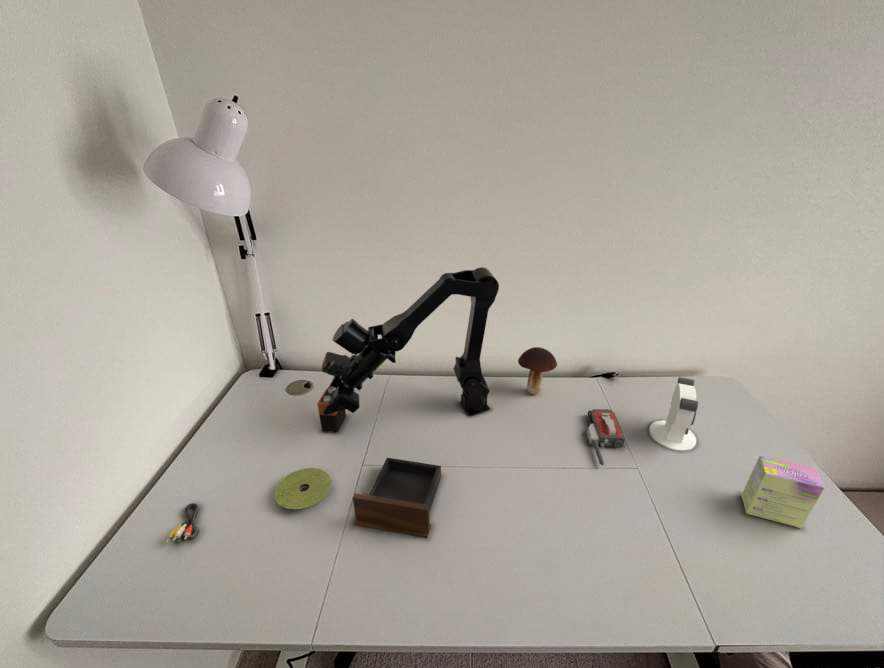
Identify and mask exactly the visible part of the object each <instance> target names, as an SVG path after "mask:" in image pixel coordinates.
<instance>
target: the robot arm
mask: <svg viewBox="0 0 884 668" xmlns="http://www.w3.org/2000/svg"><path fill="white" fill-rule="evenodd" d="M499 289H500V284H499V282H498V280H497V278H496V277H495V276H494V275H493V273H492V272H491V271H490V270H489V269H488V268H487V267H484V266H483V267H477V268H474V269H463V270H460V271H457V272H445V273H443V274H441V276H439V278H438V280H437V281H435V283H433V284H432V285H431V286H430V287H429V288H428V289H427V290H426V291H425V292H424V293H423V294H422V295H421V296H420V297H418V298H417V300H415V301H414V302H413V303H412V304H411V305H410V306H409V307H408V308H407V309H406V310H404V311H403V312H402V313H399V314H396V315H394V316H392V317H391V318H389V319H388V320H386V321H385V322H384V323H381V324H378V325H372V326H368V327H367V329H366V328H365V327H363V326H362V325H361V324H359V322H358V321H356V320H355V319H354V318H351V319H350V320H349V321H346V322H344V323H341V325H340V326H339V327H338V328H337V329H336V331H335V332H334V334H333V337H332V342H334V343H335V344H336V345H338V346H340V348H343V349H344V350H346V351H347V352H349V353H350V354H351V356H350V357H349V356H348V355H346V354H339V353H336V352H331V351H327V352H325V354H324V357H323V360H322V362H321V371H322V372H323V373H325V374H326V375H329V376H333V378H332V379H331V382H330V383H329V385H328V386H327V388H330V387H335V388H336V389H335V391H332V400H331V401H330V403H329V404H328V406H327V407H326V408H325V410H324V411H323V414H325V415H328V414H331V413H335V412H338V411H341V410H345V411H348V412H350V413H352V414H353V413H356V412H357V411H358V410H359V408H360V405H361V404H360V403H361V402H360V394H358V393H356V392H355V390H357V391H361V390H362V389H363V383H364V382H366V380H368V379H369V380H372V379H373V378H374V373H375V371H376V370H377V369H378V368H379V367H380V366H382V365H383V363H384V362H386V361H387V360H388V361H389V362H391V363H392V364H396V354H397V352H400V351H402V350H403V349H404V348H405V347H406V345H407V344H408V343H409V342H410V340H411V339H412V337H413V335H414V334H415V331H416V329H417V328H418V327H419V326H420V325H421V324H422V323H423V322H424V321H425V320H427V318H428V317H429V316H431V314H433V313H434V312H435V311H436V310H437V309H438V308H439V307H440V306H441V305H442V304H443V303H444V302H446V301H447V299H449V298H450V297H451V296H452V295H459V296H464V297H470V310H469V316H468V322H467V323H468V324H467V330H466V336H465V342H464V347H463V353H462V355H461V356H455V358H454V360H455V361H454V362H455V364H454V366H453V367H452V368H453V372H454V375H455V377H456V380H457V382H458V383H459V386H460V388H461V389H462V390H461V391H462V392H461V394H460V401H459V405H460V407H461V408H462V410H463V411H464V412H465V413H466V414H467V415H468V416H469V417H472V416H475V415H479V414H482V413H484V412H488V411H490V410H491V407H490V406H489V405H488V396H489V394H490V391H491V389H490V387H489V386H488V384H487V382H486V379H485V377H484V374H483V372H482V366H481V355H482V349H483V344H484V337H485V331H486V327H487V320H488V315H489V310H490V308H492V305H493V304H494V303H495V301H496V298H497V295H498V292H499ZM379 336H380V338H379Z"/></svg>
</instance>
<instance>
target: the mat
mask: <svg viewBox="0 0 884 668" xmlns="http://www.w3.org/2000/svg"><path fill="white" fill-rule="evenodd" d="M331 486H332V479H331V476H330V474H329V472H327V471H325V470H324V469H321V468H317V467H306V468H300V469H297V470H295V471H292V472H291V473H289V474H287V475H286V476H285V477H284V478H282V479H281V480H280V481H279V483H278V484H277V486H276V487H275V490H274V499H275V501H276V502H277V504H278V505H279V506H281V507H282V508H285V509H288V510H290V509H291V510H301V509H305V508H308V507H309V508H310V507H311V506H313V505H315V504H317V503H318V502H320V501H321V500H323V499H324V498H325V497H326V496H327V494H328V493H329V491H330V490H331Z"/></svg>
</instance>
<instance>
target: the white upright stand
mask: <svg viewBox="0 0 884 668" xmlns="http://www.w3.org/2000/svg"><path fill="white" fill-rule="evenodd" d="M694 385H695V379H691V378H686V377H683V376H679V377H678V379H677V383H676V385H675V386H674V390H673V392H672V396H671V401H670V407H669V409H668V414H667V417H666V420H657V421H654V422H653V423H651V425H650V426H649V430H648V431H649V435H650V436H651V438H652V439H653V440H654V441H655V442H656V443H658V444H659V445H660V446H662V447H664V448H667V449H669V450H672V451H677V452H686V451H690V450H692V449H694V448H695V446H696V445H697V437H696V436H695V434H694V432H692V430H690V427H691V426H693V425H694V423H695V420H696V416H697V415H696V414H697V410H698V408H699V401H698V400H697V391H696V387H695V386H694Z"/></svg>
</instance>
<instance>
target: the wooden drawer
mask: <svg viewBox="0 0 884 668" xmlns="http://www.w3.org/2000/svg"><path fill="white" fill-rule="evenodd" d="M441 479H442V466H441V465H439V464H432V463H424V462H419V461H412V460H405V459H400V458H393V457H386V459H385V461H384V462H383V465H382V467H381V468H380V471H379V472H378V475H377V477H376V479H375V480H374V483H373V485H372V487H371V489H370V491H369V493H368V494H363V493H357V492H354V494H353V496H352V503H353V509H354V515H355V516H354V517H355V521H354V523H353V524H354V526H357V527H362V528H368V529H375V530H379V531H385V532H389V533H397V534H401V535H408V536H413V537H419V538H425V539H428V537H429V534H430V531H431V528H432V524H431V521H430V517H431V516H430V512H431V509H432V506H433V503H434V500H435V497H436V493H437V492H438V491H437V490H438V488H439V484H440V481H441Z"/></svg>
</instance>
